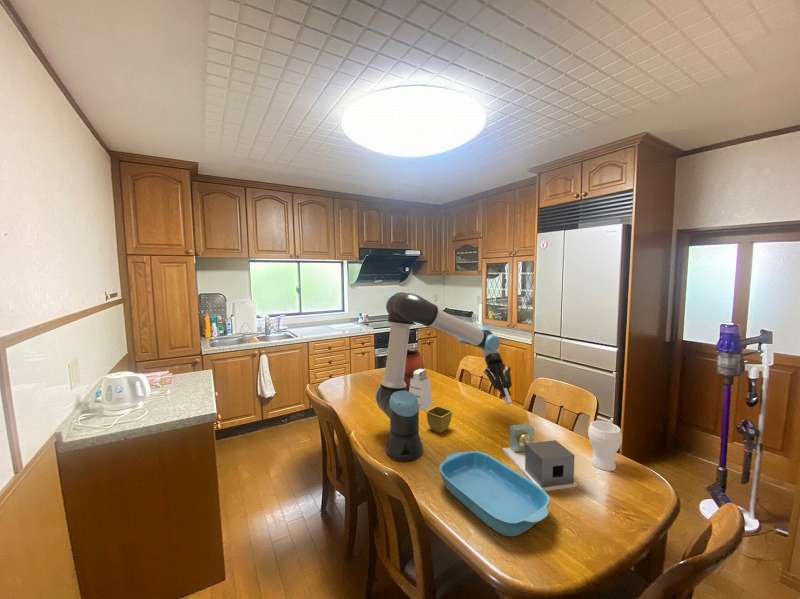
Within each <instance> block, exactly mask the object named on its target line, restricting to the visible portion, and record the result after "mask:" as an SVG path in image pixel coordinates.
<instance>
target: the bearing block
mask: <svg viewBox="0 0 800 599" xmlns="http://www.w3.org/2000/svg"><path fill="white" fill-rule="evenodd" d="M525 470H526V472H527V473H528V474H529V475H530V476H531V477H532V478H533V479H534V480H535V481H536V482H537V484H538V485H539V486H540V487H541V488H544V487H551V486H558V485H566V484H573V483H574V482H575V481H574V480H575V478H574V477H575V454H573V453H572V451H570V450H569V449H567V448H566V447H565V446H563V445H562V444H561V443H560V442H558V441H557V440H556V439H555V440H546V441H544V440H543V441H535V442H534V443H526V445H525Z"/></svg>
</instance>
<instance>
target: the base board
mask: <svg viewBox="0 0 800 599" xmlns="http://www.w3.org/2000/svg"><path fill="white" fill-rule="evenodd" d="M502 451H503V452H502V453H504V454H505V455H506V456H507V457H508V458H509V459H510V461H511V462H512V463H513V464H514V465H515V467H517V468H518V470H520V472H521V474H523V476H524V477H526V478H527V479H529V480H530V481H532V482H533V483H535V484H536V485H538V484H537V482H536V481H535V480H534V479H533V478H532V477H531V476H530V475H529V474H528V473H527V472H526V470H525V451H519V452H514V451H513V449H512V448H511V447H510V446H509V447H503V448H502ZM538 486H539V485H538ZM539 487H540V486H539ZM577 487H578V483H577V482H576V481H574V483H573V484H566V485H558V486H551V487H544V488H542V489H543V490H544V491H545V492H549V491H556V490H563V489H565V490H566V489H572V488H577ZM540 488H541V487H540Z"/></svg>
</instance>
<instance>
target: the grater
mask: <svg viewBox="0 0 800 599" xmlns="http://www.w3.org/2000/svg"><path fill="white" fill-rule="evenodd" d="M420 372H421V376H420V375H419V374H420ZM431 386H432V385H431V379H430V377H427V370H426V369H425V368H424V369H418V370H416V371H414V373H413V378H411V380H410V387H409V392H411V393H413V394H415V395H416V396H417V398H418V404H419V410H420V411H419V412H422V411H424V410H425V411H426V409H427V410H429V409H430V408H431V407H430V406H432V405H433V406H434V401H433V393H432V387H431ZM412 387H413V388H412ZM433 406H432V407H433ZM429 407H430V408H429ZM425 411H424V412H425Z"/></svg>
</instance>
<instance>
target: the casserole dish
mask: <svg viewBox="0 0 800 599" xmlns="http://www.w3.org/2000/svg"><path fill="white" fill-rule="evenodd" d="M439 471H440V475H441V478H442V480H443V484H444V485H445V487H446V489H447V490H448V491H449V493H451V494H452V495H453V496H454V497H455V498H456V499H457V500H458V501H459V502H461V503H462V504H463V505H464V506H465V507H467V509H469V510H470V511H471V512H472V513H473V514H474V515H475V516H476V517H478V518H479V519H480V520H481V521H482V522H484V524H486V525H487V526H488V527H490V528H491V529H493V531H495V532H497V533H498V534H501V535H503V536H505V537H517V536H519V535H522V534H523V533H525V532H526V531H528V530H529V529H530V528H532V527H533V526H534V525H536V524H537V523H540V522H542V521H543V520H545V519H546V518H547V517H548V516H549V506H550V504H551V497H550V495H549V494H548V493H547V491H544V490H543V489H542V488H540V487H539V486H538V485H536V484H535V483H533V482H532V481H530V480H529V479H527V477H526V476H525V475H522V473H521V474H520V473H519V472H517V471H516V470H514V469H512V468H511V467H510V466H508V465H506V464H504V463H503V462H501V461H500V460H498V459H496V458H494V457H493V456H491V455H490V454H487V453H485V452H481V451H477V450H476V451H475V450H473V451H472V450H471V451H462V452H461V451H459V452H453V453H450V454H448V455H447V456H446V457H445V460H444V461H443V462H441V464H440V465H439Z"/></svg>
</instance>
